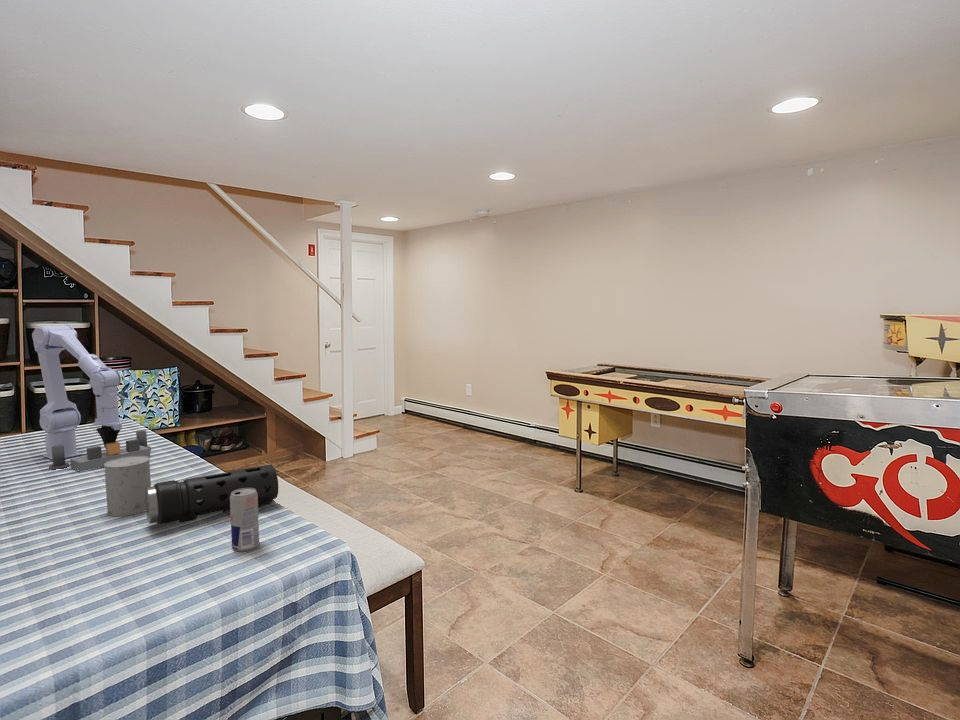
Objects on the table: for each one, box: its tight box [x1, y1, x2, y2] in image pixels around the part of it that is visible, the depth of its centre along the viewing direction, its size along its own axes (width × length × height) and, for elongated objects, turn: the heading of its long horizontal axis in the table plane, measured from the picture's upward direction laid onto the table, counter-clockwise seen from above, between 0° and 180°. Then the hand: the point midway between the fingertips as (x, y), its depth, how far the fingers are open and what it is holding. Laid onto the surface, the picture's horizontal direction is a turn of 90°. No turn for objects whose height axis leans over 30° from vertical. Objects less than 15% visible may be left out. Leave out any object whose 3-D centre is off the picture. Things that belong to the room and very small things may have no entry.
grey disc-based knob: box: [48, 445, 70, 470], centre depth 164 cm, size 5×5×7 cm
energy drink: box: [229, 488, 260, 552], centre depth 112 cm, size 5×5×12 cm
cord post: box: [135, 430, 152, 451], centre depth 184 cm, size 5×5×7 cm
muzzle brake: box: [145, 464, 279, 525], centre depth 129 cm, size 10×28×10 cm, turn 128°
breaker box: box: [70, 438, 151, 471], centre depth 170 cm, size 7×20×6 cm, turn 147°
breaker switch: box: [105, 441, 121, 455], centre depth 170 cm, size 2×3×4 cm, turn 147°
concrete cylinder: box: [103, 456, 152, 517], centre depth 132 cm, size 10×10×12 cm
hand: (110, 448), depth 171 cm, fingers closed
